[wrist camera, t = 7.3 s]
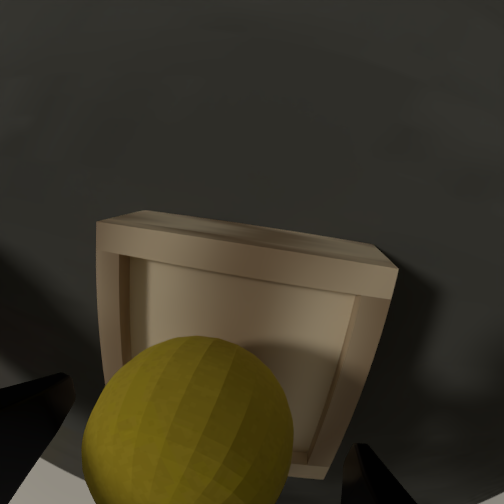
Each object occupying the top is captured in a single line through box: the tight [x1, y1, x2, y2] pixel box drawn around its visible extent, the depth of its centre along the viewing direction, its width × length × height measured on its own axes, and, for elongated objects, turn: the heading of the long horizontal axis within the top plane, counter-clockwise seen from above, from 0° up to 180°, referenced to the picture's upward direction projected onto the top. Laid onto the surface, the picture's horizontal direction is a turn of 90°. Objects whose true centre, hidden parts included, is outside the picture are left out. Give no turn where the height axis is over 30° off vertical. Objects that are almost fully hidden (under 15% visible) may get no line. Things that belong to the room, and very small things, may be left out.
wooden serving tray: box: [96, 210, 399, 480], centre depth 13 cm, size 10×10×4 cm
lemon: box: [82, 336, 294, 504], centre depth 8 cm, size 6×6×8 cm
